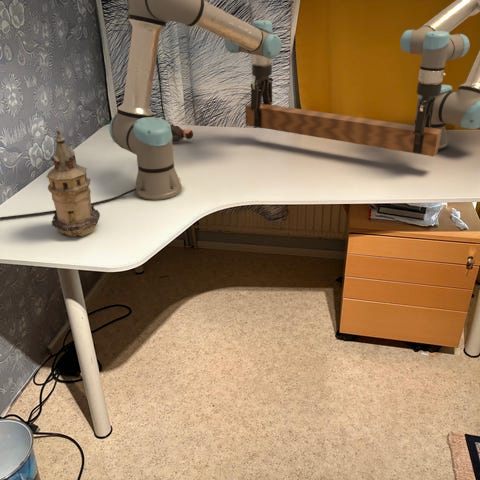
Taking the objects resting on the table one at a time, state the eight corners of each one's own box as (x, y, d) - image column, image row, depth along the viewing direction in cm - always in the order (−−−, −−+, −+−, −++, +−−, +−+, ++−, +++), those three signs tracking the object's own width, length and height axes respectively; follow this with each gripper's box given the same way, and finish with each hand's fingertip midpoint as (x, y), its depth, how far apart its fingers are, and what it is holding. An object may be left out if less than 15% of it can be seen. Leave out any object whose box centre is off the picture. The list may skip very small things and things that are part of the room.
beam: (245, 125, 215) (245, 105, 211) (252, 121, 220) (252, 102, 216) (433, 156, 182) (437, 134, 178) (437, 151, 186) (441, 129, 182)
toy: (134, 117, 234) (200, 117, 228) (136, 131, 237) (202, 131, 231) (110, 136, 212) (182, 136, 205) (113, 151, 215) (184, 152, 208)
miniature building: (80, 214, 164) (63, 117, 149) (111, 225, 157) (96, 125, 142) (44, 231, 154) (22, 130, 140) (75, 244, 147) (55, 139, 133)
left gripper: (258, 70, 194) (258, 131, 206) (282, 60, 209) (280, 119, 220) (240, 68, 198) (241, 129, 209) (265, 59, 212) (264, 116, 223)
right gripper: (434, 89, 166) (423, 160, 178) (448, 77, 180) (436, 143, 192) (410, 87, 170) (400, 156, 181) (425, 75, 184) (415, 140, 195)
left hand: (261, 123), depth 215 cm, fingers closed on beam, 6 cm apart
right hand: (419, 149), depth 186 cm, fingers closed on beam, 6 cm apart
